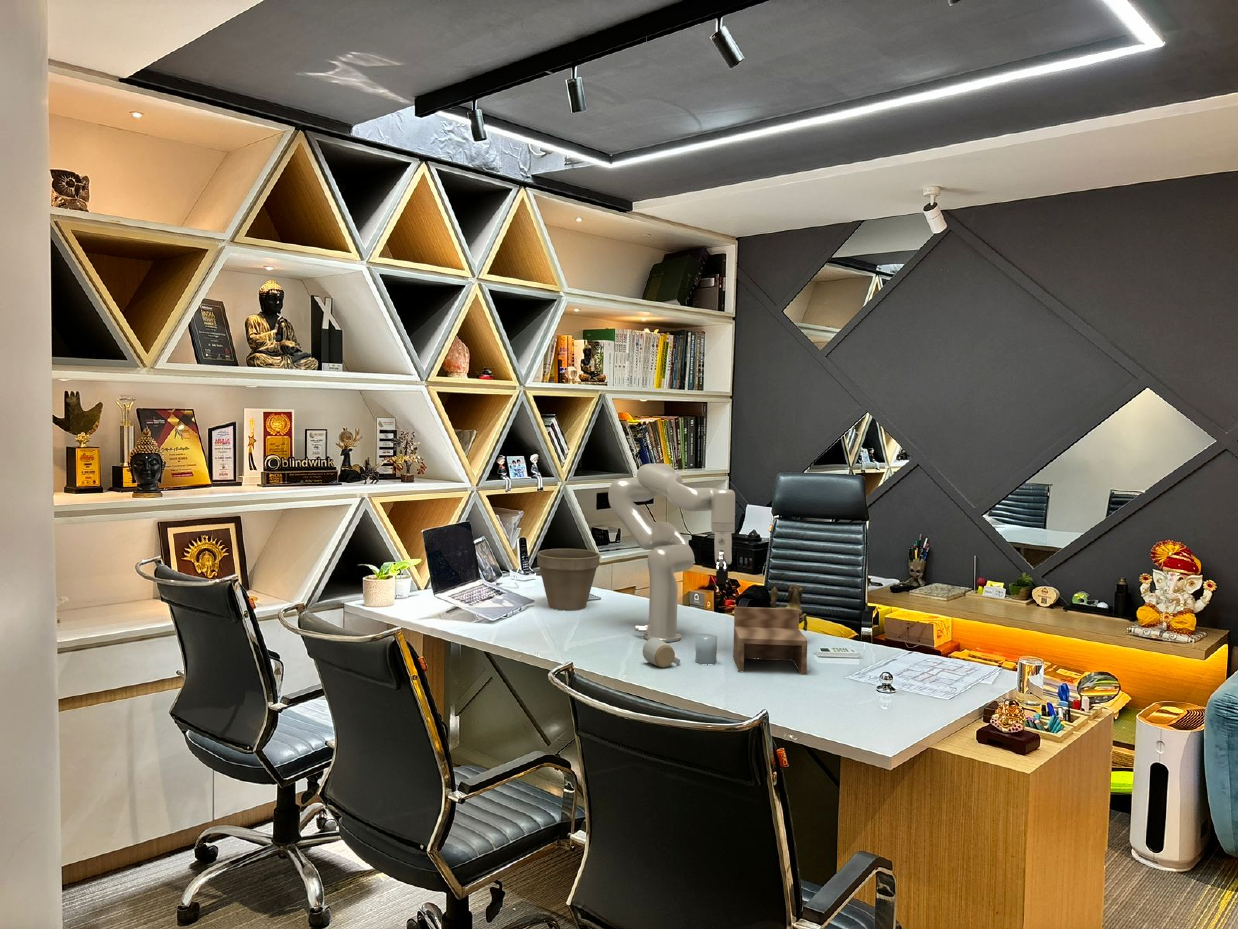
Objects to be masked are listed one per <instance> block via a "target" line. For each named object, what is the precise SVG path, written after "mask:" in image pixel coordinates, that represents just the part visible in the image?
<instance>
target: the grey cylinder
mask: <svg viewBox="0 0 1238 929" xmlns="http://www.w3.org/2000/svg"><path fill="white" fill-rule="evenodd" d="M717 646H718V636H717V635H716V634H715V635H714V634H709V633H700V634H697V635H695V657H694V659H695V664H697V663H698V664H697V665H702V664H707V665H706V666H709V665H708V664H713V665H716V664H717V649H718V647H717Z"/></svg>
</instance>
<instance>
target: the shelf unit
mask: <svg viewBox="0 0 1238 929" xmlns="http://www.w3.org/2000/svg"><path fill="white" fill-rule="evenodd" d="M733 615H734V617H733V618H734V621H733V645H732V646H733V647H732V648H733V649H732V652H733V653H732V659H733V658H734V659H733V661H734V665H735V666H736V670H737V669H738V670H737V672H738V671H743V672H744V666H745V665H744V663H745V661H744V660H745V659H744V658H756V659H755V660H766V659H778V660H777V661H792V662H793V661H794V662H793V663H794V665H795V664H796V665H795V667H796V668H797V667H798V668H797V669H799V670H798V671H799V673H800V675H807V667H808V666H807V665H808V640H807V638H806V637H805V635H804V634H803V632H802V631H801V630H800V629H799V628H800V624H799V609H786V608H772V607H755V606H754V607H750V606H734V612H733ZM757 658H759V659H757Z"/></svg>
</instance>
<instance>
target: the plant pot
mask: <svg viewBox="0 0 1238 929" xmlns="http://www.w3.org/2000/svg"><path fill="white" fill-rule="evenodd" d="M600 557H601V554H600V553H599V552H597V551H594V550H588V549H581V548H551V549H543V550H539V551H537V553H536V560H537V562H536V564H537V566H538V567H539V569H540V575H541V579H542V583H543V588H544V592H545V597H546V601H547V603H548V607H549V608H550V609H552V610H555V609H558V610H557V611H563V610H565V611H571V612H572V611H581V610H583V609H585V608H586V607H587V605H588V600H589V598H590V593H591V590H592V586H593V583H594V579H595V575H596V572H597V568H598V567H599V566H600V559H601V558H600ZM580 609H581V610H580Z"/></svg>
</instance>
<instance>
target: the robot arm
mask: <svg viewBox="0 0 1238 929" xmlns="http://www.w3.org/2000/svg"><path fill="white" fill-rule="evenodd" d="M607 493H608V494H607V495H608V496H607V498H608V503H609V507H610V508H611V510H612V512H613V513H614V515H615V516H616V517H617V518H618V519H619V521H620V522H621V523H622V524H623V525H624V527H625V528H626V529H627V531H628V532H629V534H630V535H631V537H632V538H633V539H634V541H635V543H636V544H637V545H638V547H640V548H641V549H642V550H645V551H650V552H649V553H648V554H647V555H648V556H647V567H648V574H649V604H648V605H649V607H648V608H649V610H648V623H647V624H645V625H638V624H637V625H635V632H638V633H644V634H643V638H644V639H645V640H646V641H647V640H649V639H651V638H659V639H661V640H662V641H664V642H665V643H672V642H673V643H674V642H678V641H680V640H681V639H682V635H681V634H680V633H678V632H677V628H678V626H677V625H678V624H677V623H678V594H679V593H678V591H679V590H678V588H679V586H678V583H677V579H676V577H675V574H676V573H682V572H686V571H688V570H690V569H691V568H692V567H693V566H694V563H695V555H694V551H693V549H692V547H691V546H690V545H689V543H688V542H687V540H686V539H685V538H684V537H683V536H682V534H681V533H680V531H679V530H678V529H677V528H676V526H674V525H673V524H672V523H670V522H667V521H653V520H651V518H650V517H649V516H648V514H647V513H646V512H645V510H643V509H642V508H641V506H639V505H637V504H636V503H637V502H647V501H650V500H652V499H653V498H655V497H657V496H659V495H661V496H665V497H666V498H667V500H668V501H669V503H671V504H672V505H674V506H676V507H678V508H680V509H683V510H685V511H688V512H708V511H710V512H711V513H710V533H712V534H714V562H715V564H716V570H715V583H716V584H718V585H719V584H720V585H726V584H727V580H728V579H729V566H728V565H731V564H732V561H733V560H732V558H733V557H732V556H733V554H732V546H733V540H732V538H733V537H732V534H735V533H736V532H735V528H736V526H735V524H736V493H735V491H734V490H733V489H725V488H724V489H721V488H720V489H718V488H715V487H689V486H686V485H685V484H684V482H683V477H682V476H681V475H680V474H679V473H676V471H675V470H674V467H672V466H671V465H670V464H668V463H661V462H660V463H659V462H658V463H646V464H643V465H641V466H639V469H637V472H636V477H624V478H623V477H622V478H620V479H616V480H615V481H613V482H612V483H611V484H610V486H609V489H608V492H607ZM635 502H636V503H635Z"/></svg>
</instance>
